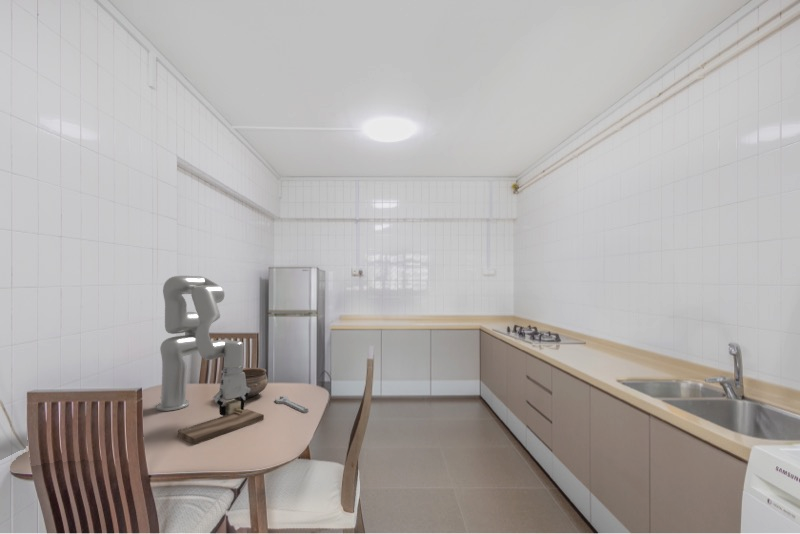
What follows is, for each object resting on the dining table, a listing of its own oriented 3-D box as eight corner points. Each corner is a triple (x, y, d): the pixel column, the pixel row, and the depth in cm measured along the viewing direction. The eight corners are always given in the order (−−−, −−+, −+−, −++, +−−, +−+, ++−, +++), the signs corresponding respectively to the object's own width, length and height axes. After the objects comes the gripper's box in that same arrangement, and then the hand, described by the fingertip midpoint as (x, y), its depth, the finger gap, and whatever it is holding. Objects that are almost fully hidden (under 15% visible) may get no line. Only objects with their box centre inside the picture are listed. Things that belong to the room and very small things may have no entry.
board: (177, 436, 132) (177, 430, 132) (246, 413, 156) (246, 408, 156) (194, 444, 126) (194, 438, 126) (263, 419, 149) (263, 414, 149)
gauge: (222, 416, 152) (223, 402, 153) (233, 412, 157) (234, 398, 157) (235, 421, 147) (236, 406, 147) (246, 417, 151) (247, 403, 151)
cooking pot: (274, 399, 175) (274, 374, 175) (232, 407, 163) (233, 380, 164) (259, 387, 195) (260, 364, 195) (221, 393, 183) (222, 369, 184)
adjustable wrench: (309, 413, 159) (309, 408, 159) (296, 416, 154) (296, 412, 154) (285, 398, 177) (285, 395, 177) (272, 401, 173) (272, 397, 173)
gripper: (218, 376, 145) (216, 420, 144) (256, 367, 159) (255, 408, 158) (208, 373, 149) (206, 416, 148) (246, 365, 163) (245, 404, 162)
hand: (232, 411), depth 153 cm, fingers open, 7 cm apart
